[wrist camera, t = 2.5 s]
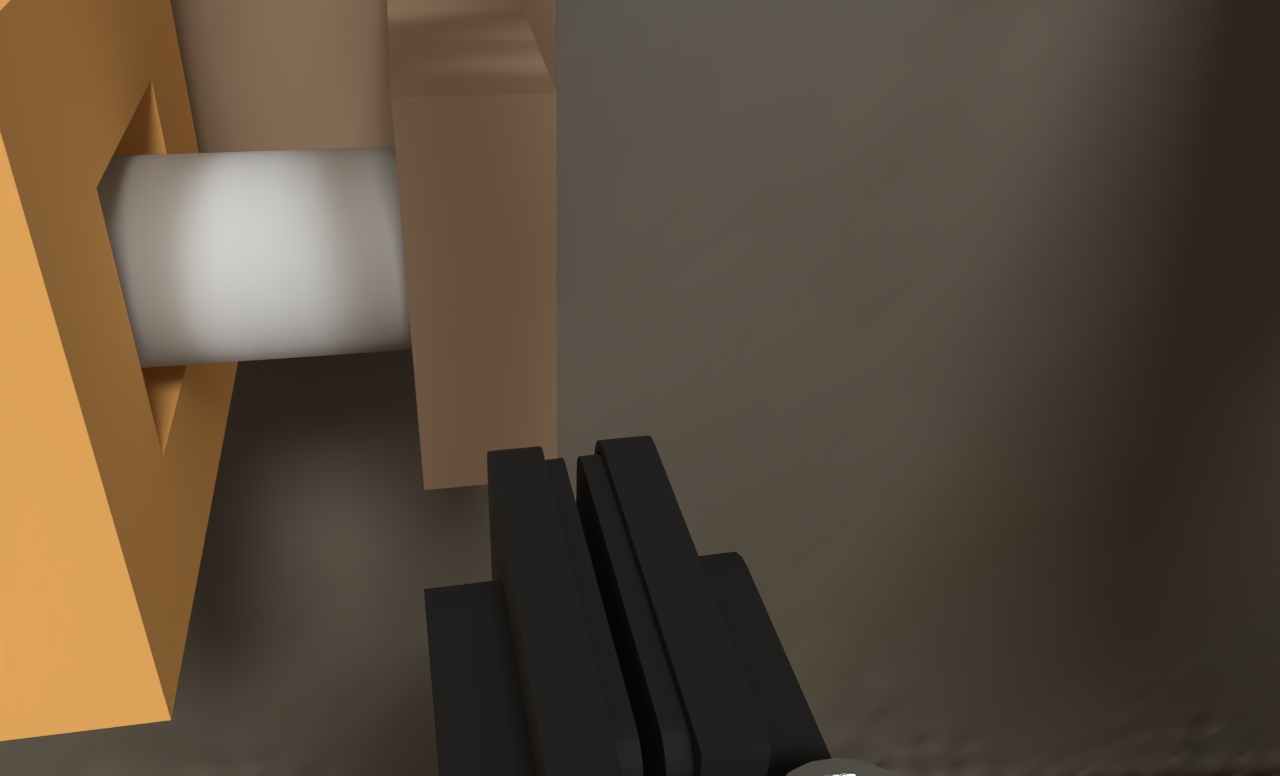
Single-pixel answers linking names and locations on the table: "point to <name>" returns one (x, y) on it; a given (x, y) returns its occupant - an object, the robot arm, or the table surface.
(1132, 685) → the table surface
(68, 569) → the collar
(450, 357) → the pipe stand
